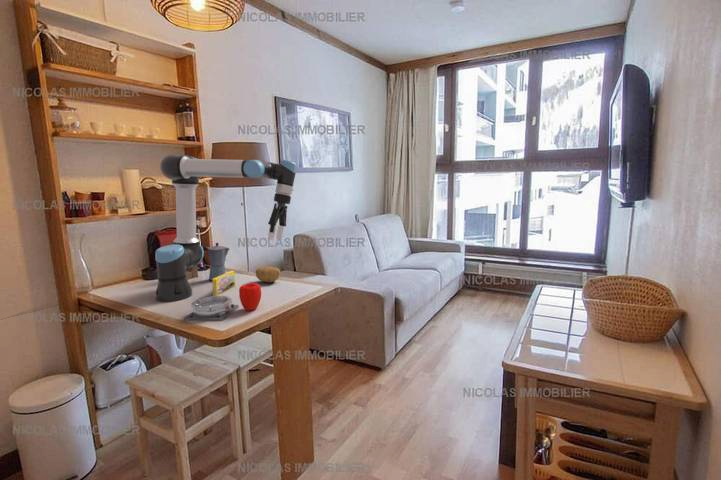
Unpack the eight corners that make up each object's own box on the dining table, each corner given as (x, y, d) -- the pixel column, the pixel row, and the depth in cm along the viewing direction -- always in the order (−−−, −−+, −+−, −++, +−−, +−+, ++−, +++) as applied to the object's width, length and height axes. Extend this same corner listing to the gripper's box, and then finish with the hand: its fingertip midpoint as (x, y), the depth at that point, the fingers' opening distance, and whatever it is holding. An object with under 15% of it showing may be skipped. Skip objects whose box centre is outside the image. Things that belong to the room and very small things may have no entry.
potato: (263, 278, 201) (262, 264, 199) (285, 280, 195) (284, 266, 193) (251, 283, 192) (250, 268, 191) (273, 285, 186) (272, 270, 185)
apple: (260, 312, 148) (258, 286, 147) (237, 313, 148) (235, 287, 146) (264, 305, 157) (262, 280, 155) (243, 306, 156) (241, 281, 155)
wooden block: (198, 276, 208) (195, 245, 205) (180, 281, 199) (176, 248, 196) (194, 275, 210) (191, 244, 207) (176, 280, 201) (172, 247, 198)
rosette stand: (184, 320, 142) (183, 307, 141) (204, 306, 157) (203, 295, 156) (222, 320, 141) (221, 307, 140) (238, 307, 156) (237, 295, 155)
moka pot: (231, 280, 198) (228, 243, 195) (200, 282, 195) (196, 245, 192) (233, 276, 207) (230, 240, 204) (203, 278, 204) (200, 242, 201)
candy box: (216, 296, 171) (215, 279, 170) (212, 296, 172) (211, 279, 170) (235, 286, 187) (234, 270, 185) (232, 286, 187) (230, 270, 186)
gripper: (284, 193, 160) (275, 241, 161) (297, 198, 185) (289, 240, 185) (267, 189, 160) (258, 238, 161) (282, 195, 185) (274, 237, 186)
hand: (274, 239), depth 173 cm, fingers open, 13 cm apart
